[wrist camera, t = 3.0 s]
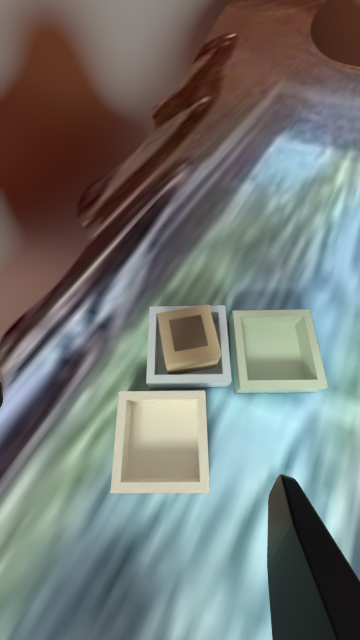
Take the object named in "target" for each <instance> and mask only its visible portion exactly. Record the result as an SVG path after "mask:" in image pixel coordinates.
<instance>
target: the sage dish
mask: <svg viewBox="0 0 360 640" xmlns="http://www.w3.org/2000/svg"><path fill="white" fill-rule="evenodd" d="M228 324H229V335H230V346H231V358H232V369H233V380H234V391H235V394H242V393H314V392H317V391H320V390H323V389H326V388H328V386H327V381H326V377H325V373H324V368H323V364H322V360H321V355H320V351H319V347H318V342H317V338H316V333H315V329H314V325H313V320H312V316H311V312H310V309H299V310H236V311H232V314H231V317H230V319H229V322H228Z"/></svg>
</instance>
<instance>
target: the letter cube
mask: <svg viewBox="0 0 360 640" xmlns="http://www.w3.org/2000/svg"><path fill="white" fill-rule="evenodd" d="M157 316H158V323H159V329H160V335H161V341H162V347H163V353H164V359H165V365H166V368H167V372H168V375H179V374H184V373H189V372H195V371H200V370H205V369H210V368H216V366H217V364H218V361H219V359H220V357H221V355H222V353H221V349H220V346H219V342H218V338H217V334H216V330H215V326H214V322H213V318H212V314H211V310H210V307H209V304H207V305H201V306H196V307H190V308H184V309H178V310H173V311H167V312H161V313H157Z"/></svg>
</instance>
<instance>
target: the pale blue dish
mask: <svg viewBox="0 0 360 640" xmlns="http://www.w3.org/2000/svg"><path fill="white" fill-rule="evenodd" d="M190 307H196V306H152V307H149V329H148V352H147V375H146V383H147V385H148V386H149V387H150V388H226V387H228V386H229V385H230V383H231V382H232V379H231V368H230V356H229V344H228V333H227V321H226V309H225V305H214V306H209V307H210V310H211V314H212V318H213V322H214V326H215V330H216V334H217V338H218V342H219V346H220V349H221V353H222V355H221V357H220V359H219V361H218V364H217V366H216V368H210V369H205V370H200V371H195V372H189V373H184V374H179V375H168V372H167V368H166V365H165V359H164V353H163V347H162V341H161V335H160V329H159V323H158V316H157V313H161V312H167V311H173V310H178V309H184V308H190Z"/></svg>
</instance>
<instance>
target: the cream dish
mask: <svg viewBox="0 0 360 640" xmlns="http://www.w3.org/2000/svg"><path fill="white" fill-rule="evenodd" d="M110 493H210V484H209V462H208V440H207V418H206V396H205V391H119V396H118V408H117V420H116V432H115V444H114V456H113V468H112V480H111V492H110Z"/></svg>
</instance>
